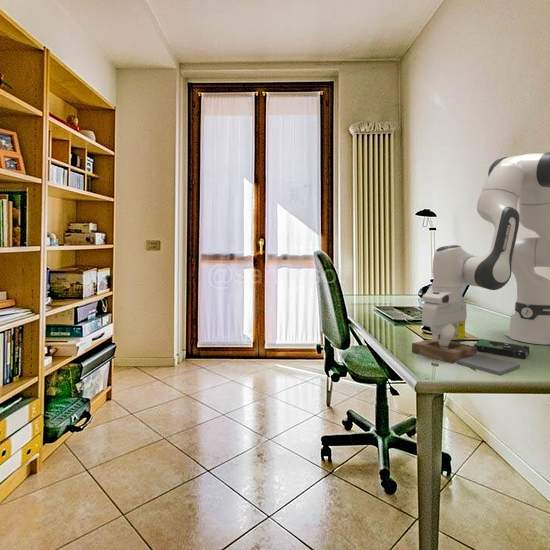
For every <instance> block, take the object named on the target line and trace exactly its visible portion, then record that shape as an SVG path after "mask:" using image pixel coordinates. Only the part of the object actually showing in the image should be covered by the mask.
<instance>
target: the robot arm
mask: <svg viewBox="0 0 550 550" xmlns="http://www.w3.org/2000/svg"><path fill="white" fill-rule="evenodd" d="M478 197H479V198H478V200H477V203H476V211H477V213H478V215H479V216H480V217H481V218H482V219H483V220H484V221H486V222H488V223H490V224H492V225H493V226H494V232H493V237H492V242H491V246H490V250H489V252H488V254H487V255H485V256H479V255H474V254H471V253H469V252H467V251H466V250H465V249H463V248H462V246H461V245H456V244H455V245H452V244H451V245H444V246H441V247H439V248H437V249H436V250H435V251H434V254H433V259H432V260H433V261H432V269H431V270H432V277H433V279H432V280H433V281H432V282H431V289H429V290H428V291H427V292H425V293H423V295H422V296H421V297H422V298H421V300H422V302H423V304H422V308H421V323H422V324H423V326H424V327H428V328H429V329H430V331H431V334H432V336H431V339H434V340H439V339H440V334H439V333H438V329H439V326H443V325H448V324H453V326H454V327H455V335H454V336H456V331H457V329H458V326H459V322H464V321H465V322H466V320H467V316H468V315H467V302H466V301H465V297H464V296H463V294H462V293H463V285H467V286H471V287H479V288H483V289H485V290H489V291H498V290H500V289H502V288H503V287H506V285H507V284H508V283H509V281H510V279H511V278H512V277H511V276H512V274H513V276H514V278H515V282H516V301H515V305H514V311H515V313H513V314H512V315H511V316H510V319H509V325H508V326H509V328H508V331H507V332H505V333H504V336H507V337H509V339H511V340H514V341H518V342H521V343H522V342H523V343H528V344H535V345H546V346H547V345H550V280H549V279H548V278H546V277H545V276H542V275H540V274H538V273H536V271H535V268H537V267H539V268H550V151H549V152H542V153H541V152H537V153H536V152H535V153H532V152H531V153H525V154H519V155H513V156H510V157H508V156H505V157H501V158H498V159H496V160H494V162H493V163H491V165H490V166H489V169H488V173H487V178H486V180H485V182H484V184H483V187H482V189H481V192H480V195H479V196H478ZM517 207H519V208H518V210H517ZM518 211H519V212H518ZM520 225H521V226H522V227H523V228H524V229H527V230H530V231H532V232H534V233H536V234H537V235H538V237H517V236H518V231H519V226H520Z"/></svg>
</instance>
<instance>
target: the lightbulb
mask: <svg viewBox="0 0 550 550" xmlns="http://www.w3.org/2000/svg"><path fill="white" fill-rule="evenodd" d="M438 333H439V334H440V339H439V340H438V343H439V346H440V348H444V349H448V345H449V344H450V341H451V339H452V338H453V337H454V335H455V327H454V326H453V324H448V325H443V326H439V329H438Z"/></svg>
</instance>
